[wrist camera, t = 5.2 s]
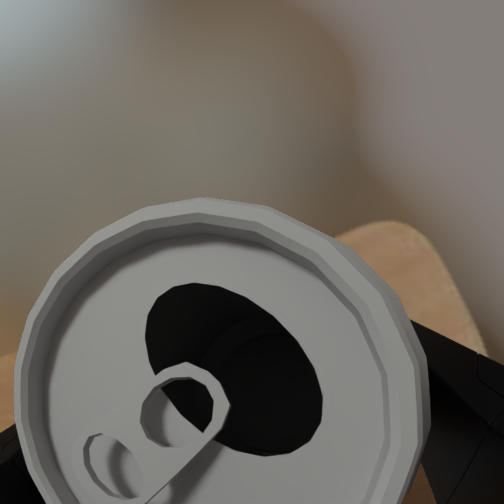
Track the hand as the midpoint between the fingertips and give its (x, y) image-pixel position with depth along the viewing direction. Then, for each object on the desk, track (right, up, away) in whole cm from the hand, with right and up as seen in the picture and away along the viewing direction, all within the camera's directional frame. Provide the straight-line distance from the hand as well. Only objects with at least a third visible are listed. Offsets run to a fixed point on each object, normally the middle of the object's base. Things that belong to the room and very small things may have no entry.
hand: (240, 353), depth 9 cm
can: (+2, -4, +6) cm, 7 cm away
